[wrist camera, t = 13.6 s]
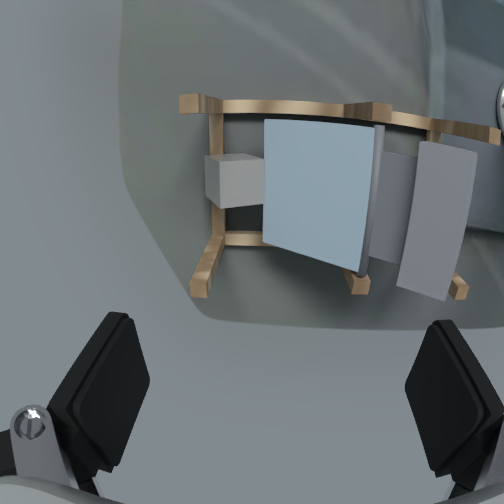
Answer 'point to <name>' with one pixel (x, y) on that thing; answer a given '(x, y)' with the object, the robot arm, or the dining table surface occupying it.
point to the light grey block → (234, 179)
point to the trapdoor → (366, 200)
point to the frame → (362, 111)
